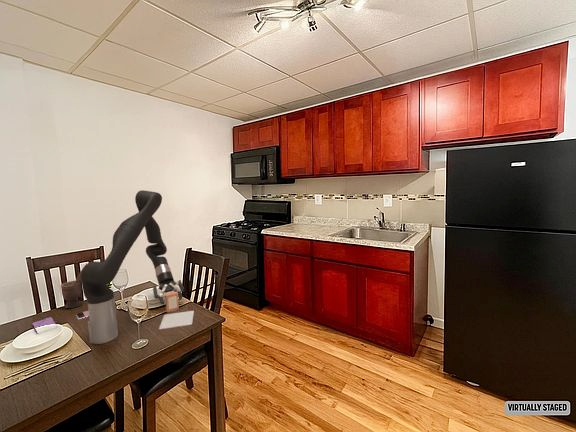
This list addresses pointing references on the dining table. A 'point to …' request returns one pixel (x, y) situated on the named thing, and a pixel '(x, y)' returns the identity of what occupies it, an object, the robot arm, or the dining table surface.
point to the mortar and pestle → (72, 292)
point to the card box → (171, 301)
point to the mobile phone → (82, 314)
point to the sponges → (43, 322)
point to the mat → (177, 320)
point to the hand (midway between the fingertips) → (172, 301)
